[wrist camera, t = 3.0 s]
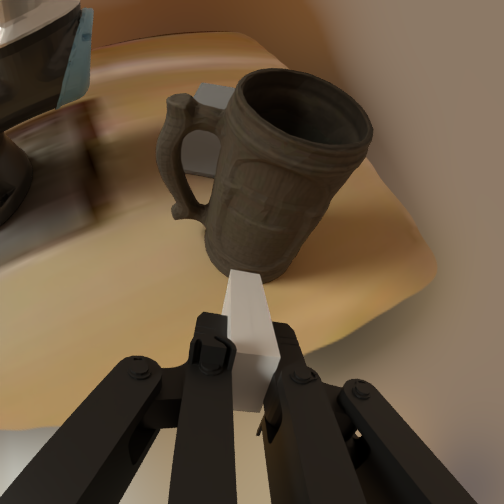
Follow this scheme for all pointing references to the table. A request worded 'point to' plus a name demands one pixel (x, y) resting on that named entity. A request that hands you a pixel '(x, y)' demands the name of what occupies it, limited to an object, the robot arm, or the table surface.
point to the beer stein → (265, 165)
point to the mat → (204, 134)
